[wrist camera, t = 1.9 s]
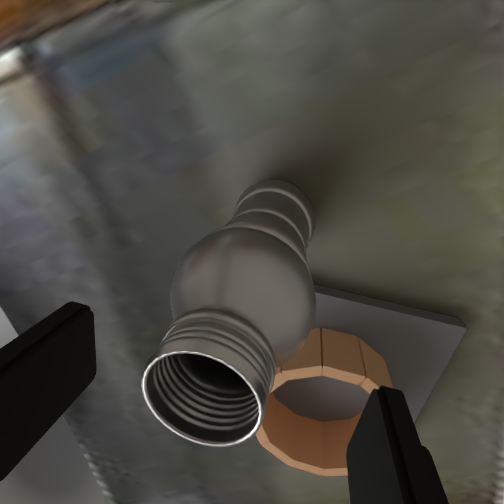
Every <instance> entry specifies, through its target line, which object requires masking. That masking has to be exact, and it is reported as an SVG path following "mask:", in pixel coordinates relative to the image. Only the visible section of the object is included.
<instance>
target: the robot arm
mask: <svg viewBox="0 0 504 504" xmlns="http://www.w3.org/2000/svg"><path fill="white" fill-rule="evenodd" d="M148 1H152V2H173V1H176V0H148ZM95 375H96V351H95V332H94V314H93V312H92V311H91V310H90V307H89V306H87V305H84V304H80V303H76V302H73V301H72V302H68V303H66V304H65V305H64V306H62V307H61V308H59V309H58V310H56V311H55V312H53V313H52V314H50V315H49V316H47V317H46V318H45V319H43V320H42V321H40V322H39V323H37V324H36V325H34V326H33V327H31V328H30V329H28V330H27V331H26V332H24V333H23V334H21V335H20V336H18V337H17V338H16V339H14V340H12V341H11V342H9V343H8V344H7V345H5V346H4V347H2V348H1V349H0V481H1V480H3V479H4V478H5V477H6V476H7V475H8V474H9V473H10V472H11V471H12V469H13V468H14V467H15V466H16V465H17V464H18V463H19V462H20V460H22V458H23V457H24V456H25V455H26V454H27V453H28V452H29V451H30V450H31V448H32V447H33V446H34V445H35V444H36V443H37V442H38V441H39V439H40V438H41V437H42V436H43V435H44V434H45V433H46V432H47V431H48V429H49V428H50V427H51V426H52V425H53V424H54V423H55V422H56V420H58V418H59V417H60V416H61V415H62V414H63V413H64V412H65V411H66V410H67V408H68V407H69V406H70V405H71V404H72V403H73V402H74V401H75V400H76V398H77V397H78V396H79V395H80V394H81V393H82V392H83V391H84V390H85V388H86V387H87V386H88V385H89V384H90V383H91V382H92V380H93V379H94V377H95ZM346 461H347V471H348V481H349V492H350V502H351V504H449V503H448V500H447V497H446V495H445V492H444V489H443V486H442V484H441V481H440V478H439V475H438V472H437V470H436V467H435V464H434V461H433V459H432V456H431V454H430V452H429V450H428V449H427V448H426V447H424V446H422V445H421V443H420V440H419V437H418V434H417V431H416V428H415V425H414V422H413V419H412V416H411V413H410V411H409V408H408V405H407V402H406V399H405V396H404V394H403V392H402V391H401V390H397V389H394V388H390V387H386V386H382V385H381V386H380V387H379V389H373V390H372V392H371V394H370V396H369V399H368V401H367V403H366V405H365V408H364V410H363V412H362V414H361V417H360V419H359V421H358V423H357V426H356V428H355V430H354V432H353V435H352V437H351V439H350V441H349V444H348V446H347V452H346Z"/></svg>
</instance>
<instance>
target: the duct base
mask: <svg viewBox="0 0 504 504" xmlns="http://www.w3.org/2000/svg"><path fill="white" fill-rule="evenodd" d="M313 285H314V289H315V296H316V317H315V321H314V326H313V328H312V330H311V332H310V334H309V336H308V338H307V340H306V341H305V343H304V345H303V347H302V349H301V350H300V351H299V352H298V353H297V354H296V356H295V357H293V358H292V359H291V360H289V361H288V362H287V363H285V364H284V365H282V366H280V367H279V368H277V369H276V373H275V379H274V384H273V388H272V390H271V392H270V394H269V395H268V400H267V406H266V412H265V417H264V419H263V421H262V424H261V426H260V428H259V430H258V432H257V433H256V436H257V438H258V440H259V442H260V444H262V446H263V447H264V448H266V449H267V450H268V451H270V452H271V453H272V454H274V455H275V456H276V457H277V458H279V459H280V460H281V461H283V462H284V463H285V464H287V465H288V464H289V466H292V467H295V468H298V469H302V470H305V471H308V472H312V473H315V474H318V475H322V476H323V474H324V476H341V475H348V471H347V461H346V452H347V446H348V444H349V441H350V439H351V437H352V435H353V432H354V430H355V428H356V426H357V423H358V421H359V419H360V417H361V414H362V412H363V410H364V408H365V405H366V403H367V401H368V399H369V396H370V394H371V392H372V390H373V389H379V387H380V386H381V385H382V386H386V387H390V388H394V389H397V390H401V391H402V392H403V394H404V396H405V399H406V402H407V405H408V408H409V411H410V413H411V416H412V419H413V422H415V420H416V418H417V417H418V415H419V413H420V411H421V410H422V408H423V406H424V404H425V403H426V401H427V399H428V397H429V396H430V394H431V392H432V390H433V388H434V387H435V385H436V383H437V381H438V380H439V378H440V376H441V374H442V373H443V371H444V369H445V367H446V366H447V364H448V362H449V360H450V359H451V357H452V355H453V353H454V352H455V350H456V348H457V346H458V345H459V343H460V341H461V339H462V338H463V336H464V334H465V332H466V331H467V329H468V328H467V327H466V326H465V324H464V323H463V322H462V321H461V319H460V318H456V317H452V316H447V315H443V314H439V313H435V312H430V311H426V310H422V309H417V308H413V307H409V306H405V305H400V304H396V303H392V302H388V301H383V300H379V299H375V298H371V297H366V296H362V295H358V294H354V293H349V292H345V291H341V290H337V289H332V288H328V287H324V286H319V285H315V284H313Z"/></svg>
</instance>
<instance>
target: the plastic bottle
mask: <svg viewBox="0 0 504 504" xmlns="http://www.w3.org/2000/svg"><path fill="white" fill-rule="evenodd" d="M314 228H315V216H314V211H313V208H312V206H311V204H310V202H309V200H308V199H307V197H306V196H305V195H304V194H303V193H302V192H301V191H300V190H299V189H298V188H297V187H295V186H294V185H292V184H290V183H288V182H285V181H281V180H265V181H261V182H258V183H256V184H254V185H252V186H250V187H249V188H248V189H246V190H245V192H244V193H243V194H242V195H241V196H240V198H239V200H238V202H237V204H236V207H235V210H234V213H233V218H232V219H231V221H229V222H228V223H227V224H226V225H225V226H223V227H221V228H220V229H218V230H216V231H214V232H212V233H211V234H209V235H207V236H206V237H204V238H203V239H201V240H200V241H199V242H197V243H196V244H195V245H194V246H193V247H191V248H190V249H189V250H188V251H187V253H186V254H185V255H184V256H183V257H182V259H181V261H180V263H179V265H178V267H177V269H176V273H175V277H174V280H173V285H172V289H171V308H172V314H173V319H174V322H173V323H172V324H171V325H170V327H169V328H168V329H167V331H166V332H165V334H164V336H163V338H162V340H161V344H160V346H159V347H158V348H157V350H156V351H155V352H154V354H153V355H152V356H151V358H150V359H149V361H148V363H147V365H146V367H145V370H144V371H143V375H142V380H141V383H142V392H143V395H144V399H145V401H146V403H147V405H148V407H149V408H150V410H151V411H152V412H153V414H154V415H155V417H156V418H157V419H158V420H159V421H160V422H161V423H162V424H163V425H165V426H166V427H167V428H169V429H170V430H171V431H173V432H174V433H176V434H178V435H179V436H181V437H183V438H185V439H187V440H190V441H192V442H195V443H198V444H202V445H206V446H213V447H228V446H235V445H238V444H241V443H244V442H246V441H247V440H249V439H250V438H252V437H253V436H254V435H255V434H256V433H257V432H258V430H259V428H260V426H261V424H262V421H263V419H264V417H265V412H266V406H267V400H268V395H269V394H270V392H271V390H272V388H273V384H274V379H275V373H276V369H277V368H279V367H280V366H282V365H284V364H285V363H287V362H288V361H289V360H291V359H292V358H293V357H295V356H296V354H297V353H298V352H299V351H300V350H301V349H302V347H303V345H304V343H305V341H306V340H307V338H308V336H309V334H310V332H311V330H312V328H313V326H314V321H315V317H316V296H315V289H314V285H313V281H312V277H311V274H310V271H309V267H308V264H307V261H306V249H307V247H308V246H309V243H310V241H311V239H312V236H313V233H314Z"/></svg>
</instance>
